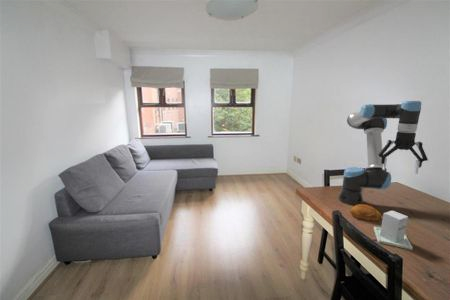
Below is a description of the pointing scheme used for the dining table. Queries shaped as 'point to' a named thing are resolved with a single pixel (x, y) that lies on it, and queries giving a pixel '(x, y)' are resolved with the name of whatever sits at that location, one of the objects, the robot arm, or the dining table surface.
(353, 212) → the croissant
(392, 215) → the supplement box
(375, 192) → the dining table surface
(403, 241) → the pale green square tray
